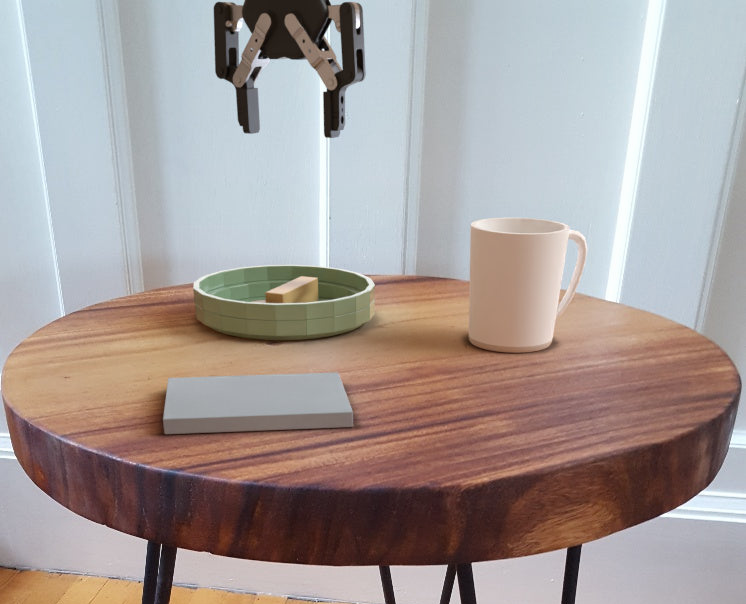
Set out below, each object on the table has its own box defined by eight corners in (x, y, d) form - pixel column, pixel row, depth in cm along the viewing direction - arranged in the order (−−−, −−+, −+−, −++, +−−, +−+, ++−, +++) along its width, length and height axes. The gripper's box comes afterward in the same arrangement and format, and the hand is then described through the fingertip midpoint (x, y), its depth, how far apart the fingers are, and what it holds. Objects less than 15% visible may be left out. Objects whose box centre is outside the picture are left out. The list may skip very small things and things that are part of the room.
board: (164, 434, 70) (162, 419, 70) (169, 392, 78) (167, 377, 78) (353, 427, 72) (353, 411, 71) (338, 386, 80) (338, 372, 80)
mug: (472, 355, 88) (480, 234, 82) (456, 330, 96) (462, 217, 90) (588, 353, 89) (604, 233, 83) (563, 328, 97) (577, 217, 91)
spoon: (277, 329, 93) (276, 303, 92) (237, 324, 94) (235, 299, 93) (328, 302, 102) (328, 278, 101) (291, 298, 104) (291, 274, 102)
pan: (195, 345, 90) (191, 306, 88) (197, 300, 105) (194, 266, 103) (385, 339, 92) (386, 302, 90) (361, 296, 107) (361, 263, 105)
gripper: (189, -82, 81) (206, 135, 90) (342, -87, 77) (344, 142, 86) (232, -75, 87) (244, 129, 96) (377, -79, 83) (375, 135, 91)
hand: (291, 135), depth 91 cm, fingers open, 8 cm apart
